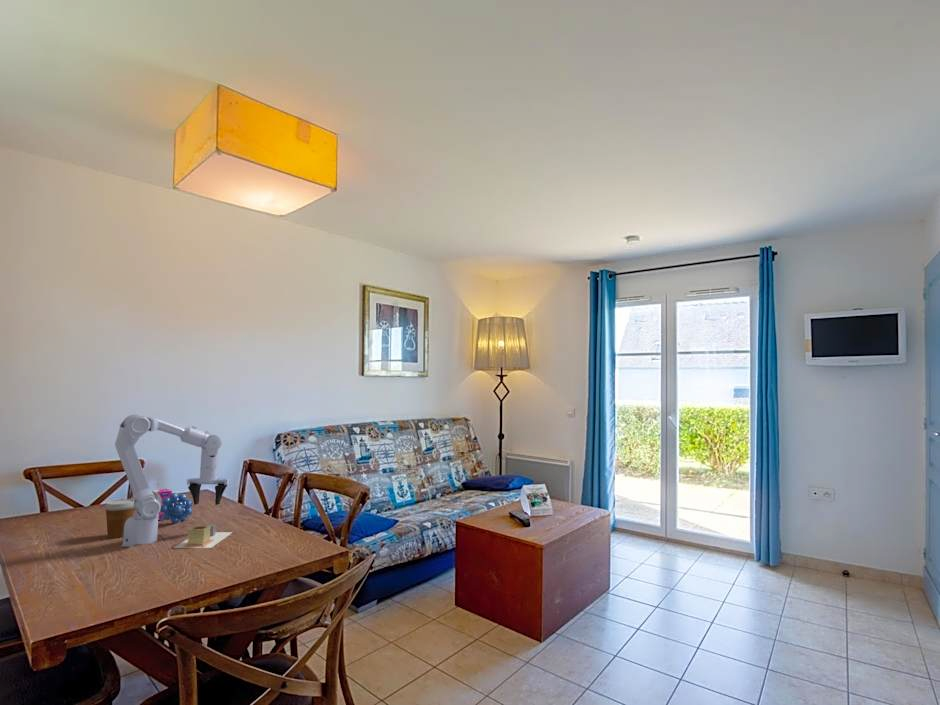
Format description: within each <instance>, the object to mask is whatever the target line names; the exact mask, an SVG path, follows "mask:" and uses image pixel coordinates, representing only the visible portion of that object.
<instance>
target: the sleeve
mask: <svg viewBox="0 0 940 705" xmlns="http://www.w3.org/2000/svg"><path fill="white" fill-rule="evenodd" d="M210 529H211V526H209V525H194V526H193V527H191V528H189V529H188V533H187V534H188V536H187V539H188V545H204V544H205V543H207V542H208V541H210Z"/></svg>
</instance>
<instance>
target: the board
mask: <svg viewBox="0 0 940 705" xmlns="http://www.w3.org/2000/svg"><path fill="white" fill-rule="evenodd" d="M208 526H211V529H210V541H208V542H207V543H205V544H204V545H188V538H187V539H185V540H184V541H182V542H180V543H179V544H176V545H175V546H173V549H174V548H175V549H211V548H213V547H215V546H216V545H217V544H219V543H221V541H224V539H226V538H227V537H229V536H230V535H231V534H233V531H231V532H230V531H227V532H226V531H221V532H220V531H219V532H218V531H216V527H217V525H216V524H209V525H208Z"/></svg>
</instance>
